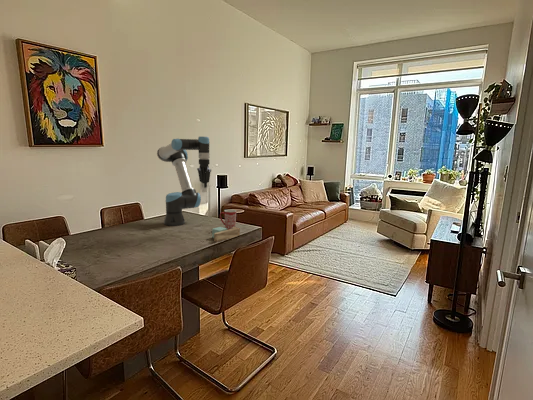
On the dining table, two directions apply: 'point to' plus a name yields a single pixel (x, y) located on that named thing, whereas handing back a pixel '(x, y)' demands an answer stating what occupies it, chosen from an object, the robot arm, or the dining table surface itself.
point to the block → (217, 230)
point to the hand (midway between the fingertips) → (204, 191)
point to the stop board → (227, 234)
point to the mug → (229, 218)
